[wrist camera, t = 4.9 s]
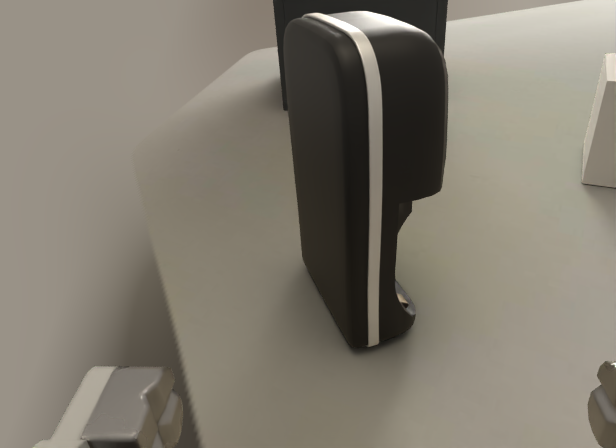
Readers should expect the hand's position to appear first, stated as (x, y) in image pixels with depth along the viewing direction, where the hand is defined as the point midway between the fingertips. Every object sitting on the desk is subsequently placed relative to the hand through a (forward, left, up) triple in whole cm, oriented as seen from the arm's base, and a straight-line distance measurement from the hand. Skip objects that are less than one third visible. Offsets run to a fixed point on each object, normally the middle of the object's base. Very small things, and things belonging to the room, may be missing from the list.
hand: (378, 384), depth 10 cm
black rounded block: (0, +10, -7) cm, 12 cm away
